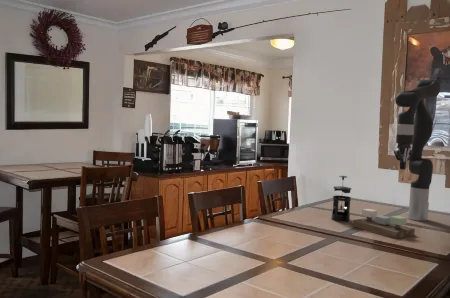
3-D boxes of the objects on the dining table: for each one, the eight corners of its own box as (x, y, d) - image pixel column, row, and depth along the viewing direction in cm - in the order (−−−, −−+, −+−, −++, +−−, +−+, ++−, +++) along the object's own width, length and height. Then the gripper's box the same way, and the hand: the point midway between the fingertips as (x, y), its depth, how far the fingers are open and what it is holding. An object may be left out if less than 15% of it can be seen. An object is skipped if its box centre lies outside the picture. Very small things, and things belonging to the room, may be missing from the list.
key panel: (371, 223, 214) (371, 217, 214) (414, 235, 194) (414, 228, 194) (352, 225, 207) (353, 219, 206) (395, 238, 186) (395, 232, 186)
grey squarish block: (381, 226, 204) (382, 215, 203) (390, 229, 199) (391, 217, 199) (374, 227, 201) (375, 216, 201) (383, 230, 197) (384, 218, 196)
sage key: (396, 227, 197) (397, 215, 196) (405, 230, 193) (406, 217, 192) (389, 228, 194) (390, 216, 194) (399, 231, 190) (399, 218, 189)
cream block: (368, 219, 210) (369, 208, 210) (376, 222, 206) (377, 210, 206) (361, 220, 208) (362, 209, 207) (369, 223, 203) (370, 211, 203)
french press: (342, 223, 212) (345, 177, 210) (326, 219, 219) (329, 175, 217) (355, 220, 220) (357, 176, 218) (339, 216, 227) (342, 174, 225)
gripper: (406, 133, 210) (403, 168, 211) (389, 133, 203) (387, 168, 204) (420, 134, 204) (417, 169, 205) (403, 134, 197) (400, 170, 198)
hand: (402, 169), depth 205 cm, fingers closed
